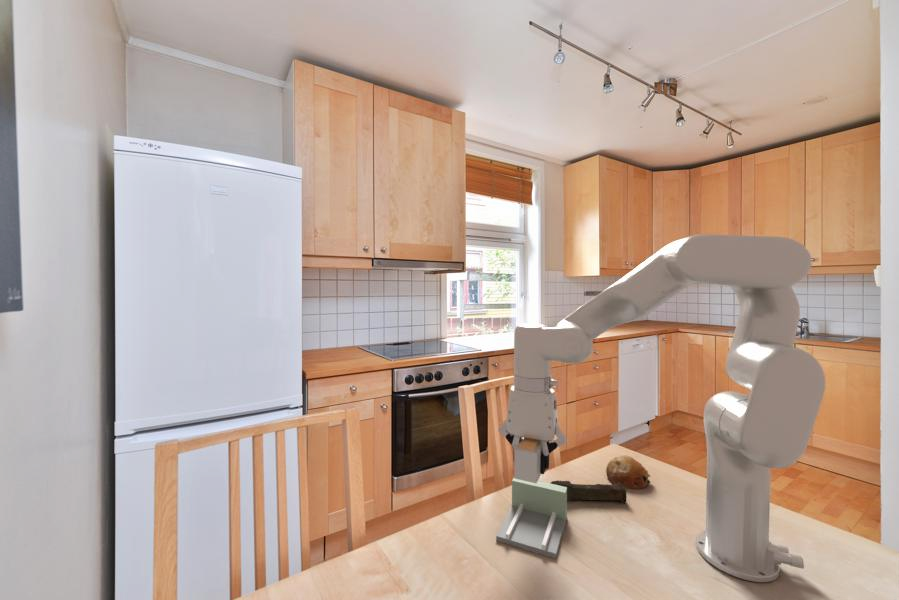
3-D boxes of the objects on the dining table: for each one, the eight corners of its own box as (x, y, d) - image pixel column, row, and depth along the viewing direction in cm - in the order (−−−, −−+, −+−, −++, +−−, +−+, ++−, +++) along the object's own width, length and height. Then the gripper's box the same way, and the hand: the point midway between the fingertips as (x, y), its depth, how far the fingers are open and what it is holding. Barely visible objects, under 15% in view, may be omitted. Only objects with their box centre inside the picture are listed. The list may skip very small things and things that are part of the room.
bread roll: (624, 482, 106) (612, 452, 108) (659, 479, 98) (646, 448, 101) (607, 494, 99) (595, 463, 102) (643, 493, 92) (629, 459, 94)
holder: (546, 461, 82) (546, 432, 82) (536, 483, 73) (536, 450, 73) (526, 457, 84) (526, 428, 84) (514, 478, 75) (514, 446, 75)
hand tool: (621, 496, 92) (621, 478, 92) (627, 505, 88) (627, 486, 88) (543, 493, 94) (543, 475, 94) (546, 503, 90) (546, 484, 90)
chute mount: (566, 517, 84) (567, 487, 83) (556, 558, 71) (556, 523, 71) (514, 504, 89) (514, 475, 89) (496, 540, 76) (496, 507, 76)
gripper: (576, 383, 77) (575, 469, 78) (498, 374, 85) (498, 453, 85) (571, 392, 71) (570, 486, 71) (487, 382, 78) (487, 467, 79)
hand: (531, 467), depth 78 cm, fingers closed on holder, 4 cm apart
